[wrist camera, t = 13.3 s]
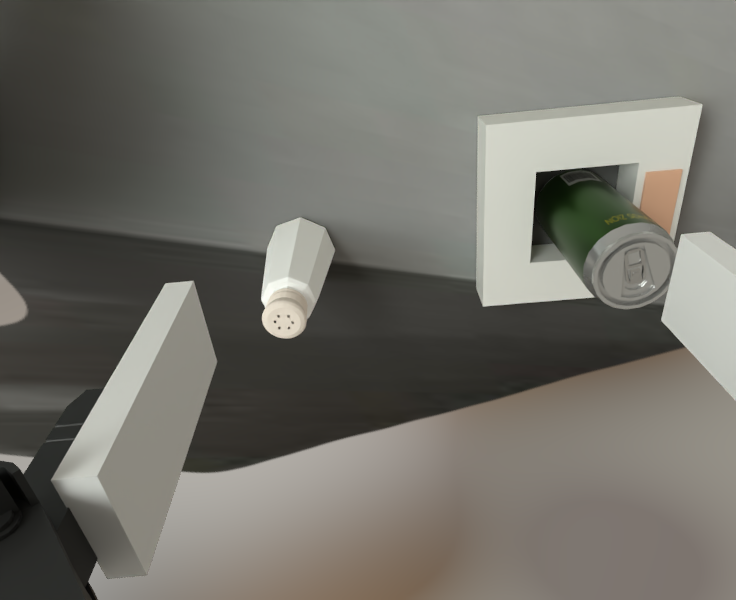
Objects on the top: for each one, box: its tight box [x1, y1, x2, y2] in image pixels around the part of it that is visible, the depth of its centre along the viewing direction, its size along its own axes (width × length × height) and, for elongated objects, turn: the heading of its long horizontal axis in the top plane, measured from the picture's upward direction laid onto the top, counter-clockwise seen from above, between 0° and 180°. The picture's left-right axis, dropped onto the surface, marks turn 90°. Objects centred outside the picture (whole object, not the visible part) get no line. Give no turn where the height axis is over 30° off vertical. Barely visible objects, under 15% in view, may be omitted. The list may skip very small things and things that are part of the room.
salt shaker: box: [261, 217, 335, 338], centre depth 38 cm, size 5×5×11 cm
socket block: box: [476, 96, 703, 306], centre depth 40 cm, size 14×14×3 cm
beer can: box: [536, 169, 678, 309], centre depth 36 cm, size 5×5×12 cm
